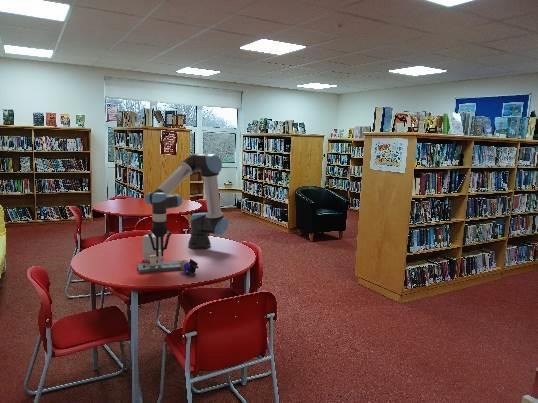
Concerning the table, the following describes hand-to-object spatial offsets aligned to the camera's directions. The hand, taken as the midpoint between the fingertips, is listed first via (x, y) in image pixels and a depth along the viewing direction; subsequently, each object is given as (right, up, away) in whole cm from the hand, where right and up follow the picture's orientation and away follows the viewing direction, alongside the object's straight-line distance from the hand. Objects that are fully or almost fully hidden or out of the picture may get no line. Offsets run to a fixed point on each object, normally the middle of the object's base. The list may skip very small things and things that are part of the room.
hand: (159, 261), depth 231 cm
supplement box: (-9, -1, +19) cm, 21 cm away
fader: (-3, -2, -1) cm, 4 cm away
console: (+2, -4, +2) cm, 5 cm away
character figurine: (+18, -6, -7) cm, 20 cm away
